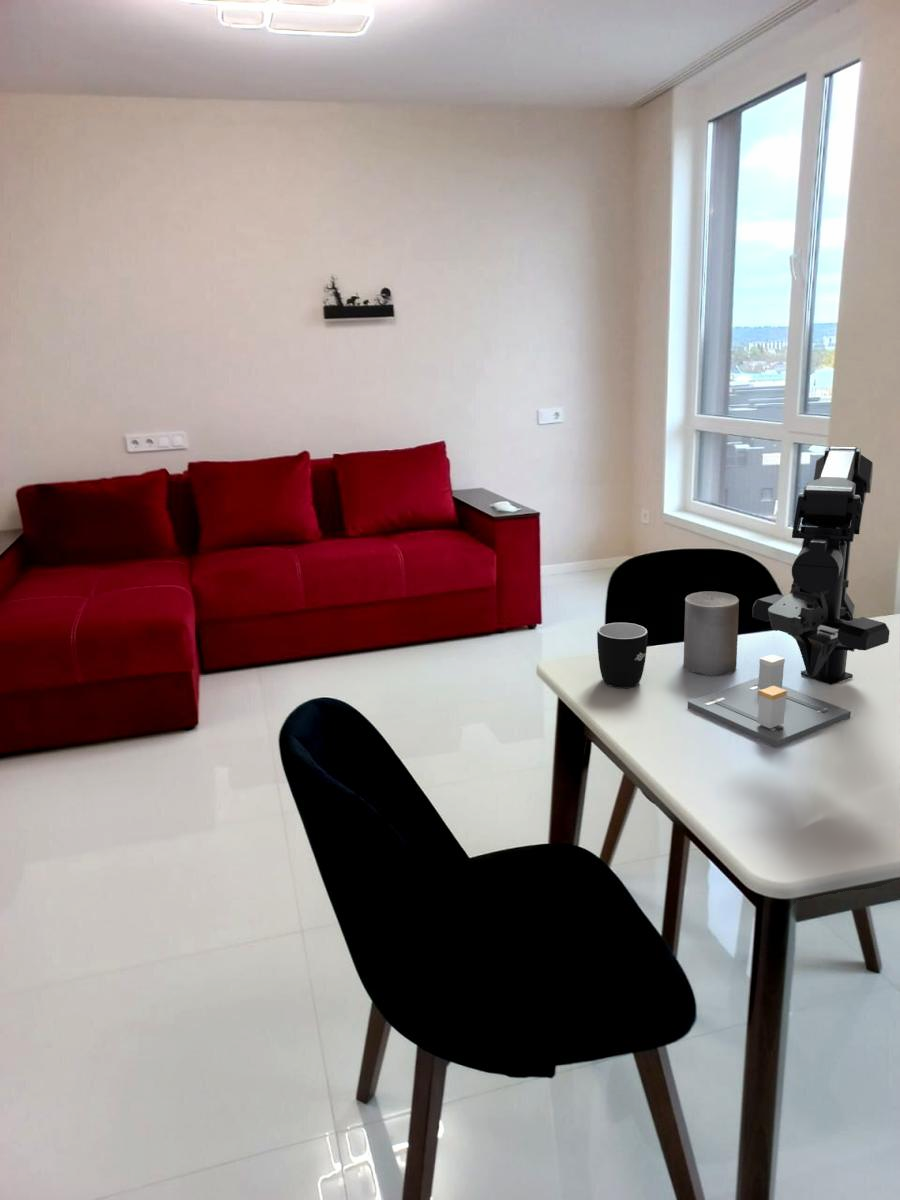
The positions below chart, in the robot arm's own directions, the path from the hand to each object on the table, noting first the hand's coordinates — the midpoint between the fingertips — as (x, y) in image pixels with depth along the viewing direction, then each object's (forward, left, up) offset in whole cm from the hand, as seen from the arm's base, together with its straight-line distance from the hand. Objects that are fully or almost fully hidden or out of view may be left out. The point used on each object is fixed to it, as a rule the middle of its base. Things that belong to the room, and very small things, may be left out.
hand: (812, 675), depth 120 cm
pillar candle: (-13, -31, -12) cm, 36 cm away
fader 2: (0, -7, -10) cm, 12 cm away
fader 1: (-11, -15, -10) cm, 22 cm away
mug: (+4, -36, -12) cm, 39 cm away
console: (-5, -11, -12) cm, 17 cm away
